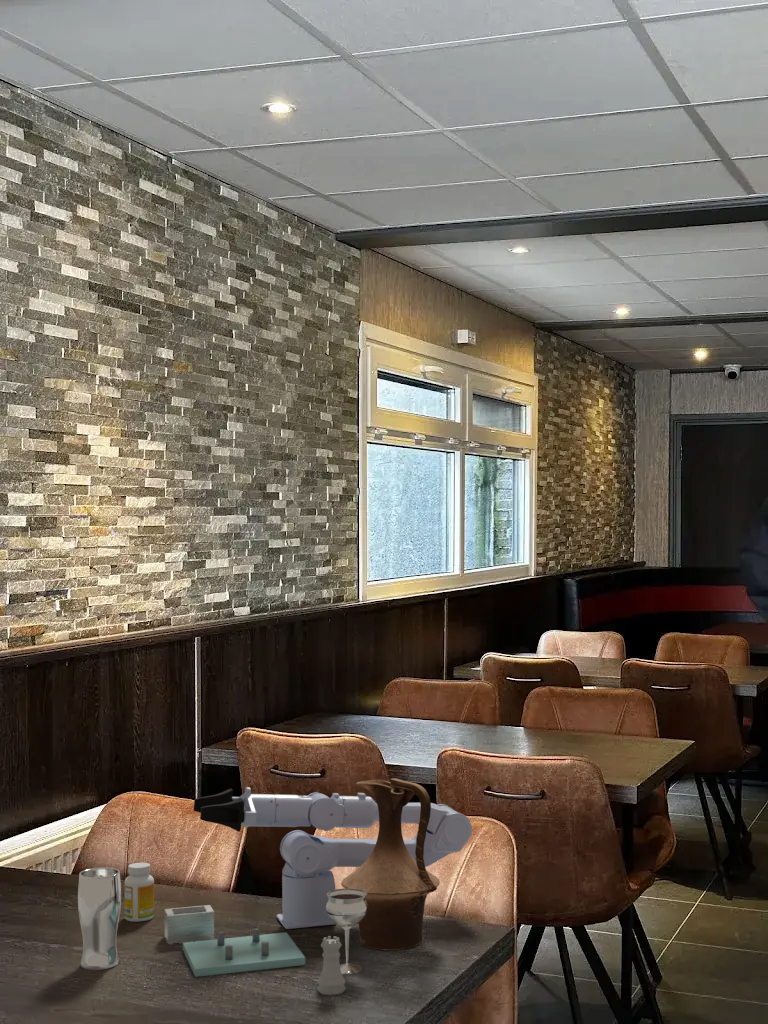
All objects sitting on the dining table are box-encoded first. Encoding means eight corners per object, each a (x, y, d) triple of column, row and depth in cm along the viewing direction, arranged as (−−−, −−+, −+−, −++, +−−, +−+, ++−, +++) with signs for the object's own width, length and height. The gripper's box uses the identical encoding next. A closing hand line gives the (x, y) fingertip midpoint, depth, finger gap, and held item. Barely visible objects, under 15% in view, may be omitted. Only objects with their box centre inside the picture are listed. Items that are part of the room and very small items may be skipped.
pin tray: (286, 939, 218) (286, 920, 218) (305, 964, 205) (305, 945, 205) (182, 949, 213) (182, 930, 213) (195, 976, 200) (195, 956, 200)
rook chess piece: (316, 986, 195) (316, 934, 195) (345, 985, 195) (344, 933, 195) (317, 996, 190) (317, 943, 191) (346, 995, 191) (346, 942, 191)
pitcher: (460, 936, 219) (458, 775, 220) (409, 964, 205) (408, 792, 205) (375, 921, 228) (374, 766, 229) (321, 946, 214) (320, 781, 215)
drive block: (210, 933, 223) (209, 904, 223) (214, 940, 218) (214, 911, 218) (164, 937, 220) (164, 908, 220) (167, 945, 216) (167, 915, 216)
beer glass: (129, 959, 208) (129, 868, 208) (106, 973, 202) (106, 879, 202) (92, 955, 210) (92, 865, 211) (69, 968, 204) (69, 875, 204)
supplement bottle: (157, 914, 234) (157, 861, 234) (149, 922, 229) (149, 869, 229) (129, 913, 234) (129, 861, 235) (120, 922, 229) (120, 868, 229)
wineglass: (337, 978, 198) (336, 902, 199) (319, 966, 204) (318, 891, 205) (375, 971, 201) (374, 896, 202) (356, 959, 207) (356, 886, 208)
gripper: (265, 781, 234) (193, 779, 230) (282, 795, 221) (205, 794, 217) (262, 819, 234) (190, 818, 230) (279, 836, 220) (202, 835, 216)
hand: (197, 809), depth 223 cm, fingers open, 7 cm apart
